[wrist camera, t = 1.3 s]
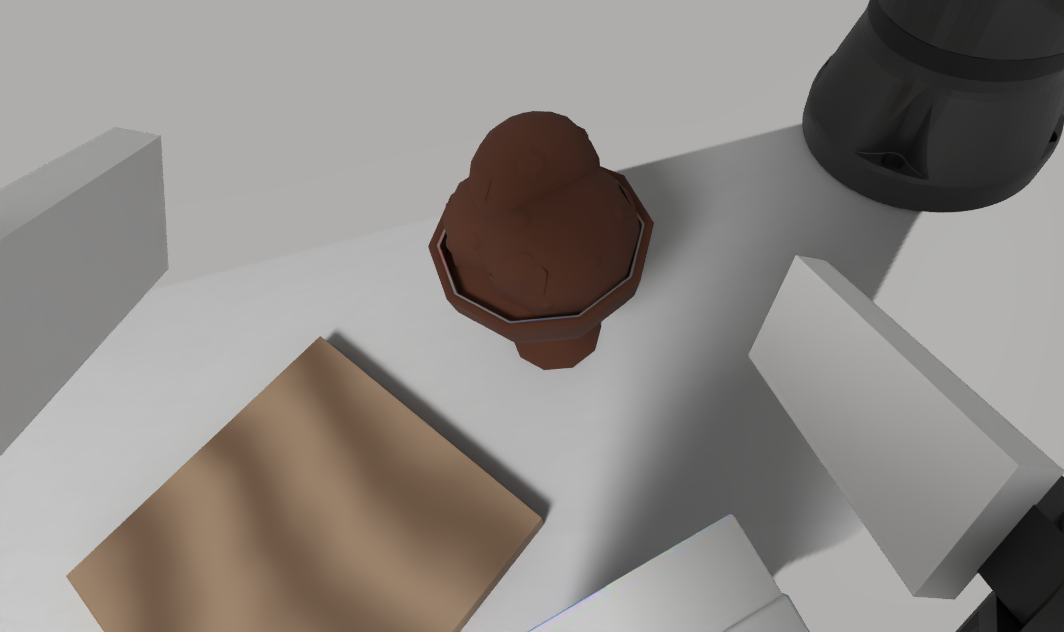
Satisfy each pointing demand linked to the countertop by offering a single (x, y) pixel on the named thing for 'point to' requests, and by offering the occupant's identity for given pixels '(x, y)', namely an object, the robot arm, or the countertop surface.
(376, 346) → the countertop surface
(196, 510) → the walnut board
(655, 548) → the countertop surface
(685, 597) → the milk carton
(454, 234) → the ice cream bowl
